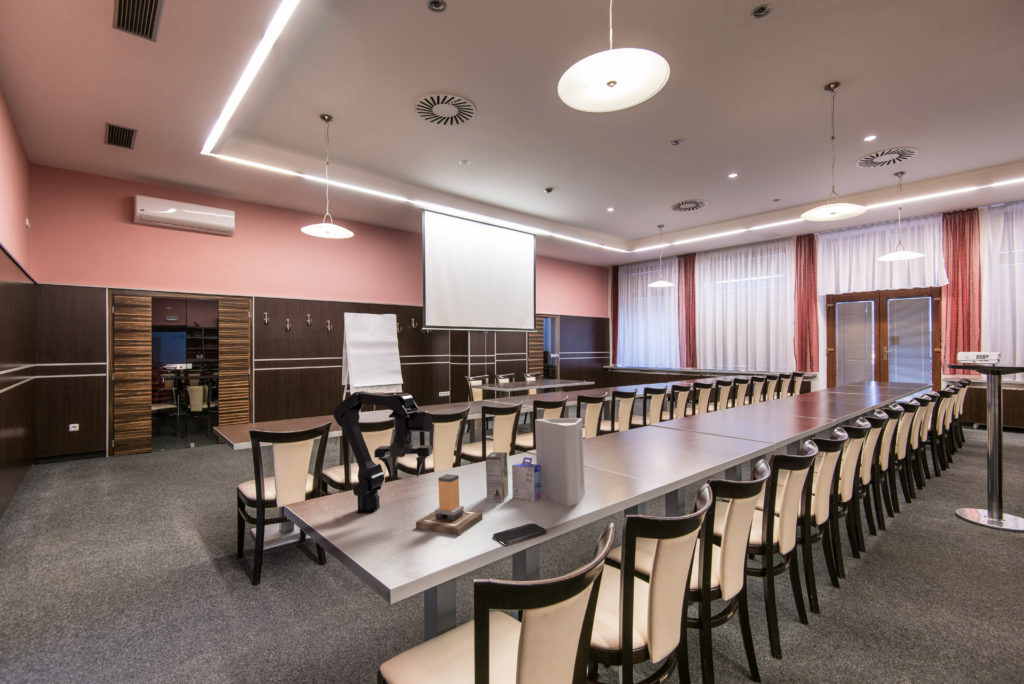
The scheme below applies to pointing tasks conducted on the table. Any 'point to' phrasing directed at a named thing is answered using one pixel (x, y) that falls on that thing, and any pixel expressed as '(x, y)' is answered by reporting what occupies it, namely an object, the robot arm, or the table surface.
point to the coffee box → (497, 476)
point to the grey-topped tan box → (449, 498)
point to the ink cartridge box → (526, 480)
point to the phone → (520, 533)
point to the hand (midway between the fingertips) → (404, 476)
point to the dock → (449, 523)
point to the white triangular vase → (561, 459)
